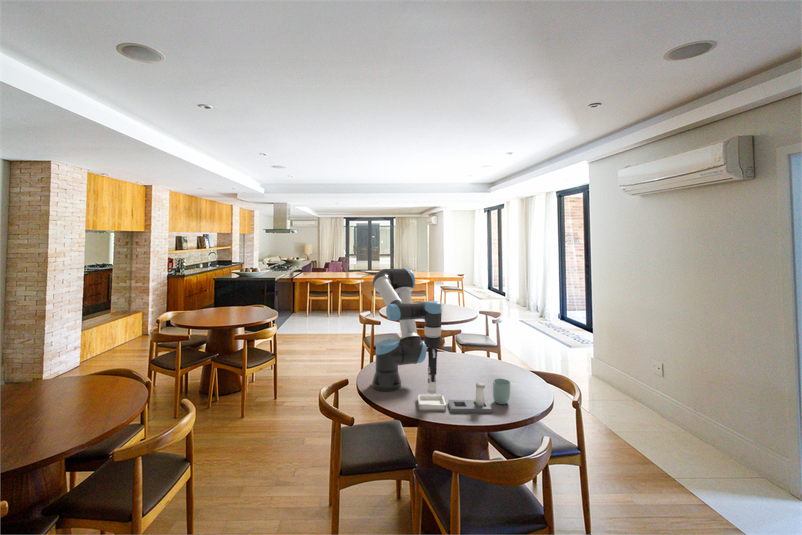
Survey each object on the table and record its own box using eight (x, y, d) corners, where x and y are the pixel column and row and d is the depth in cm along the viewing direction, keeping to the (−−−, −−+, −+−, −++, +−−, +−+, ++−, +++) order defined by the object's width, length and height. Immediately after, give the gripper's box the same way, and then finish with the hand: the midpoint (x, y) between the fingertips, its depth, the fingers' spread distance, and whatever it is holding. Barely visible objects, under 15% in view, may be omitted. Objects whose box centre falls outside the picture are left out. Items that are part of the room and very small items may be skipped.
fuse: (476, 410, 155) (477, 385, 155) (474, 406, 159) (474, 382, 159) (485, 410, 155) (486, 386, 155) (483, 406, 159) (483, 382, 159)
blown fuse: (427, 393, 157) (428, 369, 157) (427, 390, 161) (427, 366, 161) (436, 393, 157) (437, 369, 157) (435, 390, 161) (436, 366, 161)
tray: (419, 410, 154) (419, 405, 154) (417, 399, 165) (417, 394, 165) (446, 410, 155) (446, 405, 154) (442, 399, 166) (442, 394, 165)
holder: (451, 412, 153) (451, 408, 152) (448, 403, 162) (448, 399, 161) (492, 412, 153) (492, 408, 153) (487, 403, 162) (487, 400, 162)
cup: (489, 402, 163) (490, 381, 162) (496, 397, 169) (497, 377, 168) (506, 407, 158) (506, 386, 158) (512, 402, 164) (512, 381, 164)
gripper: (443, 340, 150) (442, 393, 151) (438, 331, 167) (437, 379, 168) (426, 340, 150) (425, 393, 151) (422, 331, 167) (422, 379, 168)
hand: (431, 386), depth 159 cm, fingers closed on blown fuse, 4 cm apart
